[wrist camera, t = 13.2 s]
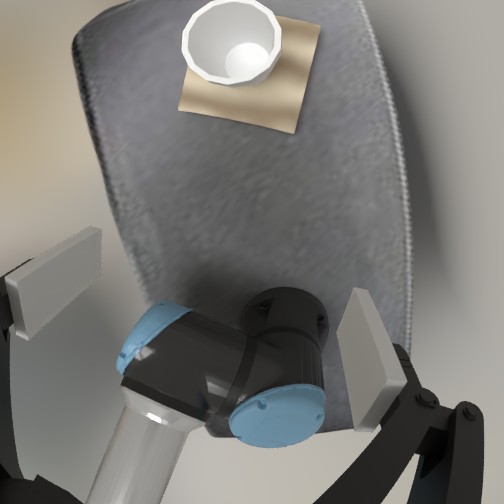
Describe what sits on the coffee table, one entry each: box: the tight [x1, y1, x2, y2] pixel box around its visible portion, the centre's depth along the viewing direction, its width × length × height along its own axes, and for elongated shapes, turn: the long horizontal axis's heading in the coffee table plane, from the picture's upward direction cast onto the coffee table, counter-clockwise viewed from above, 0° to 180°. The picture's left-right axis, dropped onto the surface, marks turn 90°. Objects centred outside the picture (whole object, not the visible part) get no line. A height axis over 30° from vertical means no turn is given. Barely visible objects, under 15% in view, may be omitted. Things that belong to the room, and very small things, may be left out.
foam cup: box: [182, 0, 282, 88], centre depth 30 cm, size 10×9×13 cm
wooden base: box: [178, 15, 321, 134], centre depth 38 cm, size 16×16×4 cm
